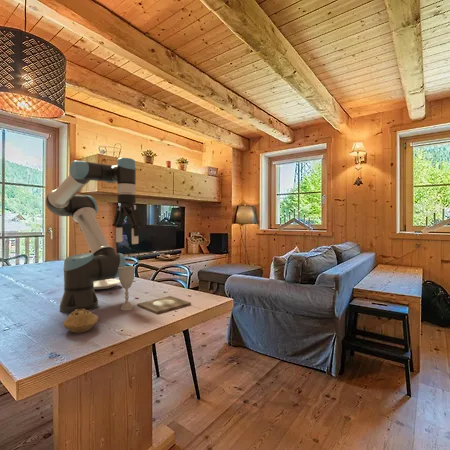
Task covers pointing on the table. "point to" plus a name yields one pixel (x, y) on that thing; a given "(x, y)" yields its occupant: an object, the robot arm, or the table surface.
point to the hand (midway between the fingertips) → (126, 243)
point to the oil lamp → (80, 321)
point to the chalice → (126, 283)
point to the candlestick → (105, 283)
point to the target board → (163, 304)
